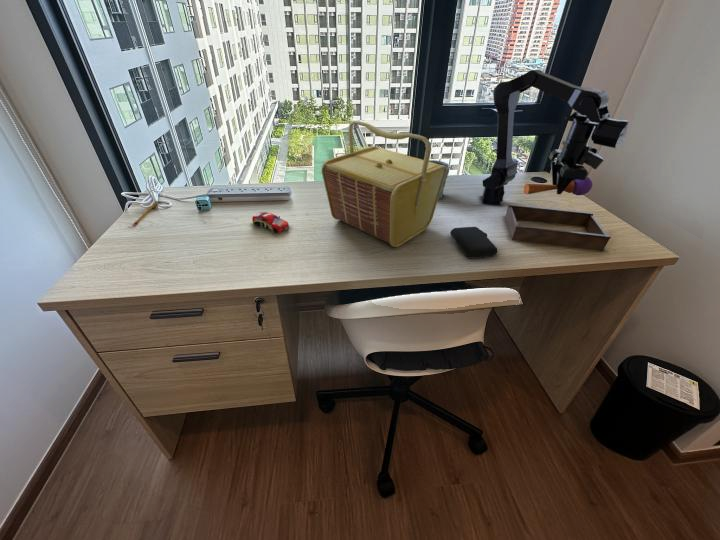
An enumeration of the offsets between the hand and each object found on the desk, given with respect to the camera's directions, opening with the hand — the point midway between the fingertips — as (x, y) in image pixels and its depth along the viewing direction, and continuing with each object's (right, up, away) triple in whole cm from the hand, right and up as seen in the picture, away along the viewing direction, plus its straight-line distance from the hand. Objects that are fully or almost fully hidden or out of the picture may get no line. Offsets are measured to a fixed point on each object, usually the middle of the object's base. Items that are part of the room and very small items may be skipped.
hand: (556, 190), depth 105 cm
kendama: (0, -1, +1) cm, 1 cm away
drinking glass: (-35, +3, +23) cm, 42 cm away
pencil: (-134, -6, +7) cm, 135 cm away
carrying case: (-29, -18, -6) cm, 34 cm away
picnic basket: (-56, -11, +3) cm, 57 cm away
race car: (-91, -12, +1) cm, 92 cm away
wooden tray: (-2, -13, +1) cm, 13 cm away
